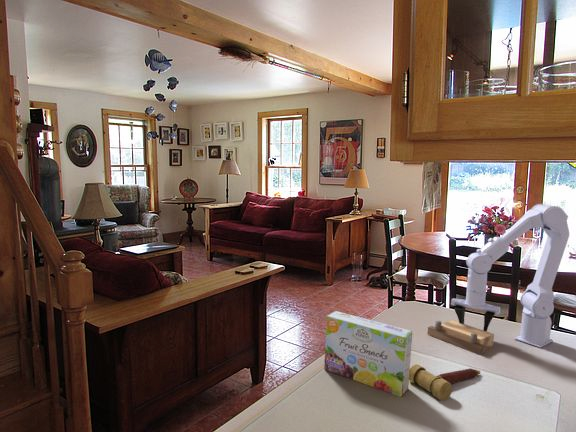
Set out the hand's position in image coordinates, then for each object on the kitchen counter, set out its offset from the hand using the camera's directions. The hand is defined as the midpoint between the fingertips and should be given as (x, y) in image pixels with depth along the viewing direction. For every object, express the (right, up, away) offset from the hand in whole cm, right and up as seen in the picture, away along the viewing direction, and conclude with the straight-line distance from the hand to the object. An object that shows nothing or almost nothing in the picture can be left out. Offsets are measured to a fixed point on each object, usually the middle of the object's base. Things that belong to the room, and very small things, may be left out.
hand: (473, 330), depth 137 cm
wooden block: (-4, -2, -4) cm, 6 cm away
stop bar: (-9, -2, -6) cm, 11 cm away
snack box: (-41, -4, -31) cm, 52 cm away
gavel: (-19, -5, -31) cm, 37 cm away
